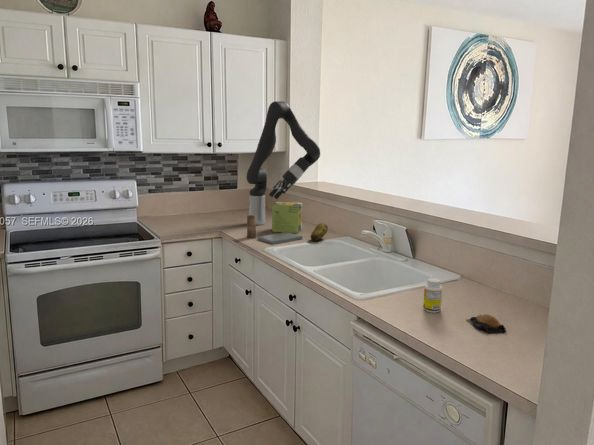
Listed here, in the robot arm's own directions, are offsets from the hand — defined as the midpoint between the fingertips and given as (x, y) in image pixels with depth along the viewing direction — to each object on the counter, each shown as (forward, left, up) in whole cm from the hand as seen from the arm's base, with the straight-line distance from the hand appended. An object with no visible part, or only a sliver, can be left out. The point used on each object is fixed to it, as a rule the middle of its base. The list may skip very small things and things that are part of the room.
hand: (272, 197), depth 254 cm
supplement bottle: (+116, -24, -21) cm, 120 cm away
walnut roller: (-4, -11, -21) cm, 24 cm away
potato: (+21, +14, -21) cm, 33 cm away
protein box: (-6, +15, -21) cm, 27 cm away
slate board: (+9, -1, -21) cm, 23 cm away
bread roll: (+134, -22, -22) cm, 137 cm away
